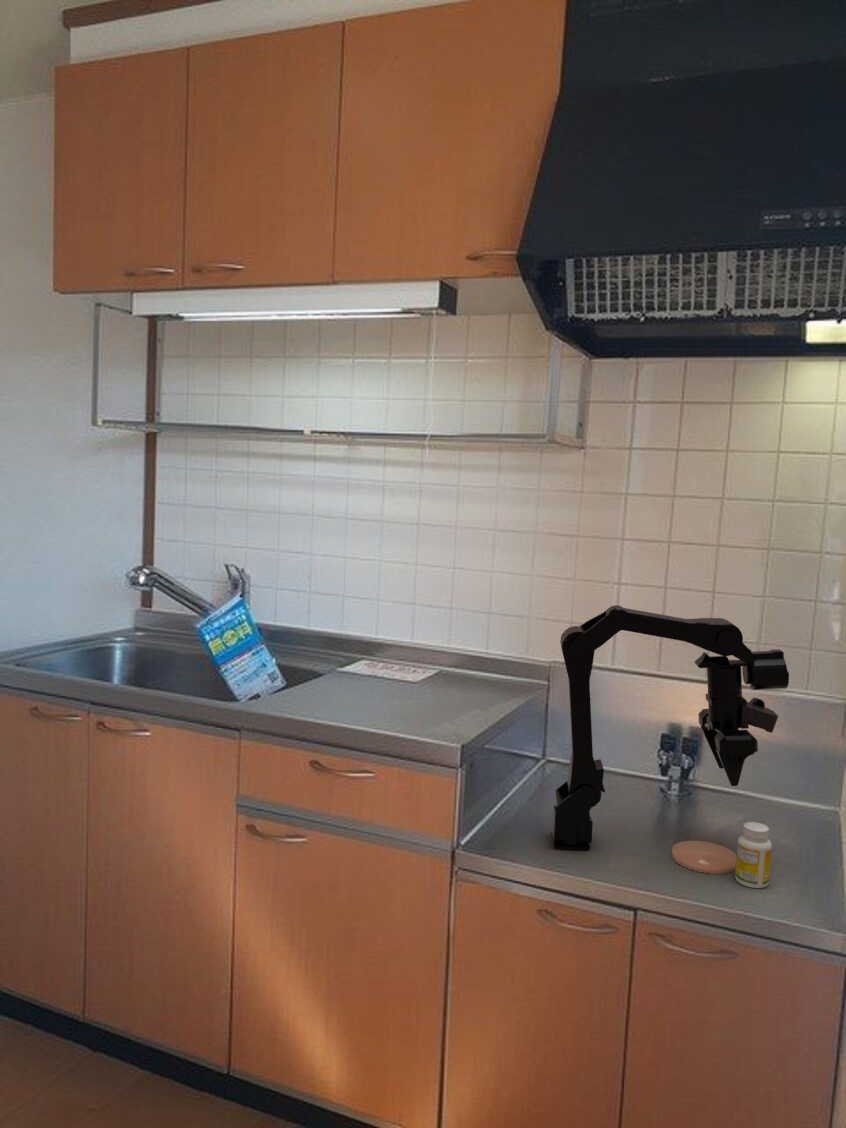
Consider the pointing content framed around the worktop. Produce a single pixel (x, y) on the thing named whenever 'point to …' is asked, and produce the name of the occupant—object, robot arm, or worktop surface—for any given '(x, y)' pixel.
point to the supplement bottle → (753, 856)
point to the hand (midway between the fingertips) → (728, 776)
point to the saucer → (704, 857)
